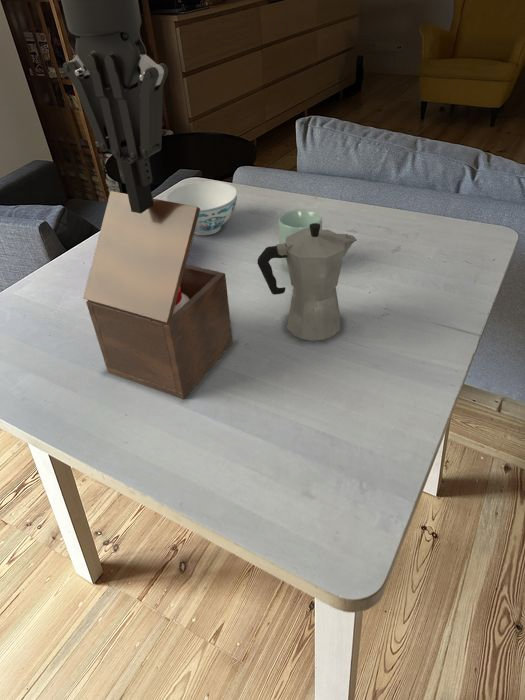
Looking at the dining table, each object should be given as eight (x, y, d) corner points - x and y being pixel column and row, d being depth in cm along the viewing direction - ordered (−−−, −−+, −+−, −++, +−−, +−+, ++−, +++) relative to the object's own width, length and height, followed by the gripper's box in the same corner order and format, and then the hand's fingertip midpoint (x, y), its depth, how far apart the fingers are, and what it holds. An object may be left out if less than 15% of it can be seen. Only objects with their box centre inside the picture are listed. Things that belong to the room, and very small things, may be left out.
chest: (162, 322, 91) (147, 254, 83) (233, 343, 86) (225, 273, 77) (107, 372, 82) (85, 301, 73) (183, 399, 76) (169, 326, 68)
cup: (329, 265, 103) (330, 217, 96) (301, 281, 99) (301, 232, 92) (299, 252, 107) (298, 205, 101) (271, 267, 103) (269, 219, 97)
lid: (114, 192, 73) (110, 190, 72) (200, 208, 67) (197, 206, 67) (86, 299, 73) (82, 298, 73) (170, 323, 68) (166, 322, 67)
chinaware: (240, 211, 123) (238, 179, 119) (239, 242, 112) (236, 207, 107) (176, 215, 124) (170, 182, 119) (167, 246, 112) (161, 211, 107)
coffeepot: (340, 302, 93) (345, 204, 82) (362, 333, 86) (371, 230, 75) (254, 319, 90) (247, 220, 79) (270, 353, 83) (265, 249, 72)
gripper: (172, -20, 53) (201, 204, 68) (74, -19, 58) (121, 189, 73) (124, -10, 48) (167, 229, 63) (21, -10, 53) (83, 212, 68)
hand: (142, 208), depth 68 cm, fingers closed
